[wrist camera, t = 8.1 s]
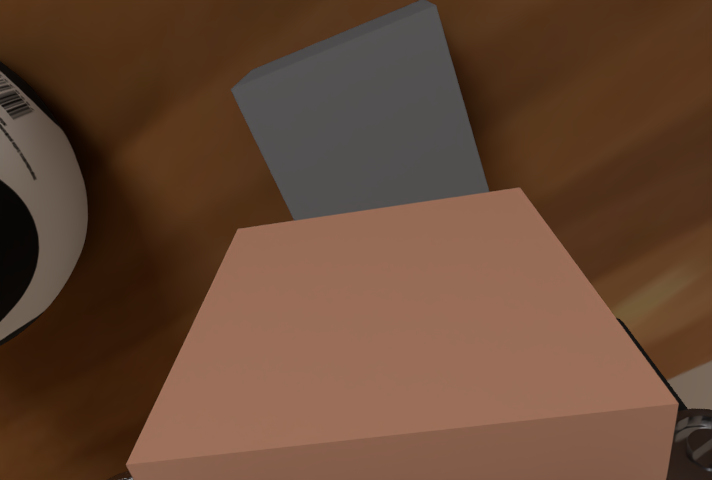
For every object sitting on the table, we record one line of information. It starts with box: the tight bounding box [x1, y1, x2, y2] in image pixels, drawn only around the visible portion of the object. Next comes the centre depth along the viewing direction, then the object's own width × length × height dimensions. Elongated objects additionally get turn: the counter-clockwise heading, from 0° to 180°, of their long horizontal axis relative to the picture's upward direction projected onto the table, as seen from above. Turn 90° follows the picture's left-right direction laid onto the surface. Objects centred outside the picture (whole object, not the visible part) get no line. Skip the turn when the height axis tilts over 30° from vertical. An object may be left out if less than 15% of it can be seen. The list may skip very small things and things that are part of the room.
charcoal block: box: [231, 0, 489, 221], centre depth 25 cm, size 9×9×5 cm
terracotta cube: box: [126, 188, 679, 480], centre depth 10 cm, size 6×6×6 cm
